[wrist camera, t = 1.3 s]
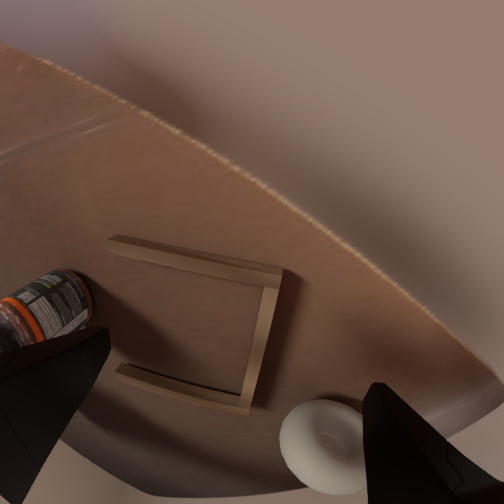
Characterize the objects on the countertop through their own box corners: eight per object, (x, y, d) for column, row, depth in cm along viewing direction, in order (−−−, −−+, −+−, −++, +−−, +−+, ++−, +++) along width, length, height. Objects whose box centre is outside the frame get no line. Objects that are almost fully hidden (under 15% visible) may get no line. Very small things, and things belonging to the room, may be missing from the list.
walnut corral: (249, 405, 24) (247, 416, 23) (122, 369, 25) (116, 378, 24) (282, 268, 20) (282, 276, 19) (117, 234, 21) (107, 239, 20)
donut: (380, 406, 23) (402, 487, 14) (358, 427, 24) (372, 505, 15) (294, 376, 23) (292, 473, 13) (274, 400, 24) (266, 491, 14)
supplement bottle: (63, 323, 25) (-6, 383, 14) (44, 269, 23) (-39, 317, 12) (104, 322, 24) (29, 396, 13) (82, 262, 22) (-12, 318, 11)
